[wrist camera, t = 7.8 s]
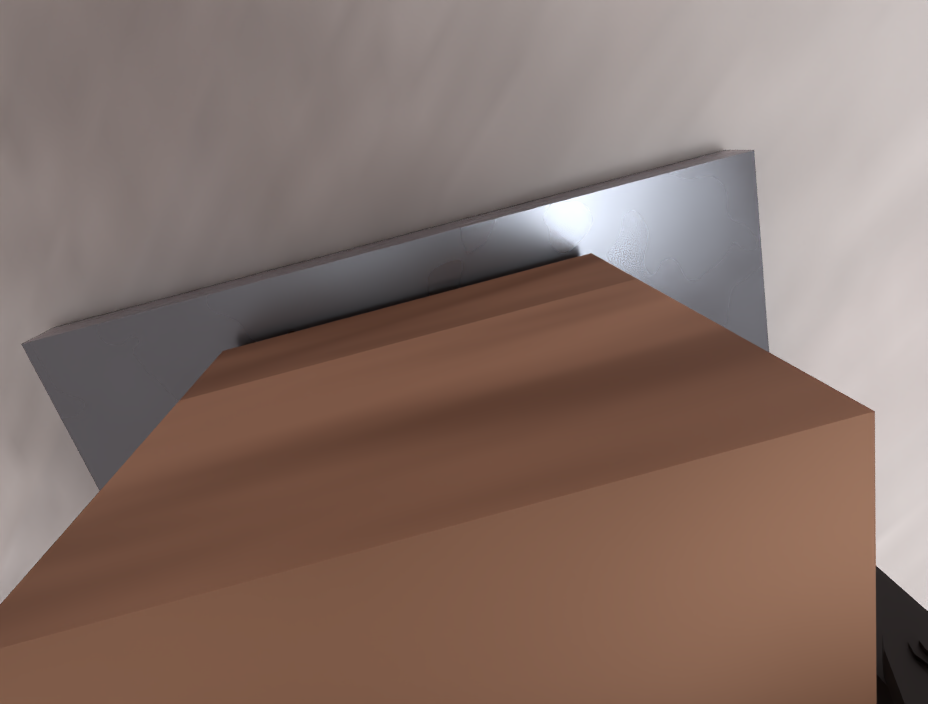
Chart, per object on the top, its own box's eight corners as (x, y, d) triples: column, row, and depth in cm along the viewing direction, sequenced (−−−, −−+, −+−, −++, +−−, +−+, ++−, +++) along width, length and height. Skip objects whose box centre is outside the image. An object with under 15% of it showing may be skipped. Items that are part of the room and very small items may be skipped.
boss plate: (52, 327, 14) (-51, 380, 11) (725, 149, 14) (818, 150, 11) (299, 813, 19) (280, 939, 16) (772, 681, 20) (843, 782, 16)
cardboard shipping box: (222, 351, 12) (-51, 662, 5) (591, 253, 13) (874, 411, 5) (364, 693, 16) (330, 1187, 8) (653, 613, 16) (878, 1031, 8)
